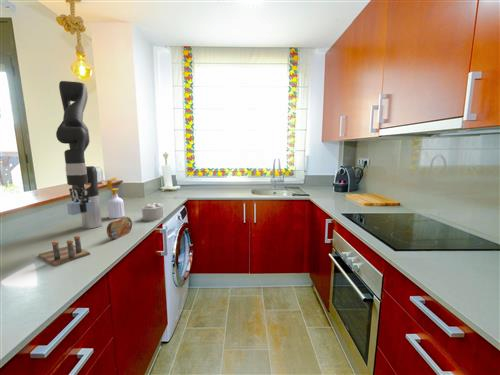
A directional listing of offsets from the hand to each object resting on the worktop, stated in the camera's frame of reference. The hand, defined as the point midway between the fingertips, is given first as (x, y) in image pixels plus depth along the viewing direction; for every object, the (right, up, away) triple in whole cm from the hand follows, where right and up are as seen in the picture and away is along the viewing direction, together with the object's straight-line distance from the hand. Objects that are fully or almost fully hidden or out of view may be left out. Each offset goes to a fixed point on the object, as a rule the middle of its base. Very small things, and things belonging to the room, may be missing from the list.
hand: (81, 211), depth 112 cm
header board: (+1, -17, -11) cm, 20 cm away
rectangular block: (0, 0, 0) cm, 0 cm away
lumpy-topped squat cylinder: (+16, -8, +44) cm, 47 cm away
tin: (+12, -13, +11) cm, 21 cm away
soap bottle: (-9, -8, +46) cm, 47 cm away
